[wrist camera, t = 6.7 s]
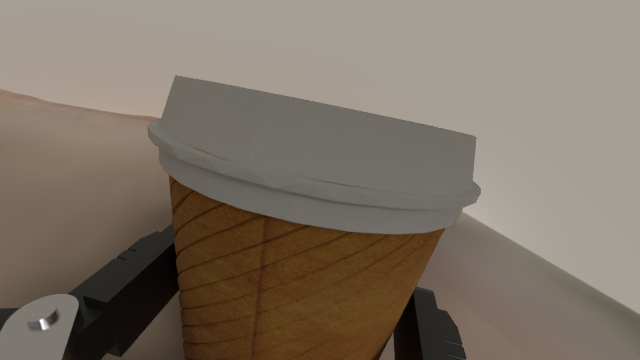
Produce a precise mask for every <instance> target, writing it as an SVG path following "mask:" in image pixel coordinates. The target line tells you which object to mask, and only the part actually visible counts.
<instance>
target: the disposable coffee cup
mask: <svg viewBox="0 0 640 360" xmlns="http://www.w3.org/2000/svg"><path fill="white" fill-rule="evenodd" d="M147 127H148V136H149V138H150V139H151V140H152V142H153V143H154V145H156V146H158V147H159V162H160V164H161V165H162V167H163V169H164V170H165V172H167V173H168V174H169V181H170V194H171V203H172V213H173V219H172V222H173V229H174V236H175V239H174V244H175V251H176V256H177V258H176V265H177V271H178V274H179V277H178V278H177V279H178V286H179V291H180V292H181V293H180V295H179V300H180V306H181V308H183V309H182V310H180V312H181V319H182V324H183V326H182V333H183V339H184V343H183V347H184V352H185V356H184V357H185V360H379V358H380V356H381V354H382V352H383V350H384V348H385V346H386V344H387V342H388V341H389V339H390V337H391V335H392V333H393V331H394V329H395V326H396V325H397V323H398V321H399V319H400V317H401V315H402V313H403V311H404V309H405V307H406V305H407V303H408V301H409V299H410V297H411V295H412V293H413V291H414V289H415V287H416V285H417V283H418V281H419V279H420V277H421V275H422V273H423V271H424V269H425V267H426V265H427V263H428V261H429V259H430V257H431V255H432V253H433V251H434V249H435V247H436V245H437V243H438V241H439V239H440V237H441V235H442V234H443V232H444V230H445V228H446V227H450V226H452V225H453V223H454V222H455V221H456V219H457V218H458V216H459V215H460V213H461V211H462V209H463V207H466V206H468V205H471V204H473V203H475V202H476V201H477V199H478V197H479V195H480V193H481V189H480V187H479V186H478V185H477V184H476V183H475V182H473V169H474V158H475V147H476V137H475V136H472V135H468V134H464V133H460V132H456V131H450V130H446V129H442V128H438V127H434V126H429V125H425V124H420V123H415V122H411V121H406V120H400V119H396V118H391V117H386V116H382V115H377V114H372V113H367V112H362V111H357V110H353V109H348V108H343V107H338V106H333V105H328V104H324V103H319V102H314V101H309V100H304V99H299V98H294V97H289V96H284V95H278V94H273V93H268V92H263V91H258V90H252V89H247V88H242V87H236V86H232V85H227V84H221V83H216V82H210V81H204V80H198V79H193V78H187V77H182V76H175V78H174V81H173V84H172V87H171V90H170V93H169V96H168V99H167V103H166V106H165V109H164V112H163V115H162V118H161V119H158V120H155V121H152V122H151V123H150V124H149V125H148V126H147Z"/></svg>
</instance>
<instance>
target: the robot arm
mask: <svg viewBox="0 0 640 360" xmlns="http://www.w3.org/2000/svg"><path fill="white" fill-rule="evenodd" d="M174 239H175V236H174V229H173V223H172V224H171V225H169V226H168V227H167V228H166V229H164V230H163V231H162V232H155V233H152V234H150V235H148V236H146V237H143V238H141V239H140V240H138V241H137V242H136V243H134V244H133V245H132V246H130V247H129V248H128V250H125V251H124V252H123V253H121V254H120V255H119V256H118V257H117V259H113V260H112V261H111V262H109V263H108V264H107V265H105V266H104V267H103V268H101V269H100V270H99V271H98V272H96V273H95V274H94V275H92V276H91V277H90V278H88V279H87V280H86V281H84V282H83V283H82V284H80V285H79V286H78V287H76V288H75V289H74V290H72V291H71V292H70V293H68V294H54V295H49V296H45V297H42V298H39V299H37V300H34V301H32V302H30V303H28V304H26V305H25V306H23V307H21V308H11V309H0V360H101V359H102V358H103V356H104V355H105V354H106V353H109V354H112V355H115V356H118V357H121V356H122V355H123V354H124V353H125V352H126V351H127V350H128V348H129V347H130V346H131V345H132V344H133V343H134V341H135V340H136V339H137V338H138V337H139V336H140V334H141V333H142V332H143V331H144V330H145V329H146V327H147V326H148V325H149V324H150V323H151V322H152V320H153V319H154V318H155V317H156V316H157V315H158V313H159V312H160V311H161V310H162V309H163V308H164V307H165V305H166V304H167V303H168V302H169V301H170V300H171V298H172V297H173V296H174V295H175V294H176V293H177V291H178V290H179V286H178V279H177V278H178V277H179V274H178V271H177V265H176V258H177V256H176V251H175V244H174ZM394 351H395V360H466V355H465V352H464V348H463V347H462V341H461V338H460V335H459V331H458V328H457V326H456V325H455V323H454V322H453V320H452V319H451V317H450V316H449V314H448V313H447V311H443V310H440V309H438V308H437V304H436V300H435V296H434V293H433V291H431V290H427V289H424V288H420V287H415V289H414V291H413V293H412V295H411V297H410V299H409V301H408V303H407V305H406V307H405V309H404V311H403V313H402V315H401V317H400V319H399V321H398V323H397V325H396V326H395V329H394Z"/></svg>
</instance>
